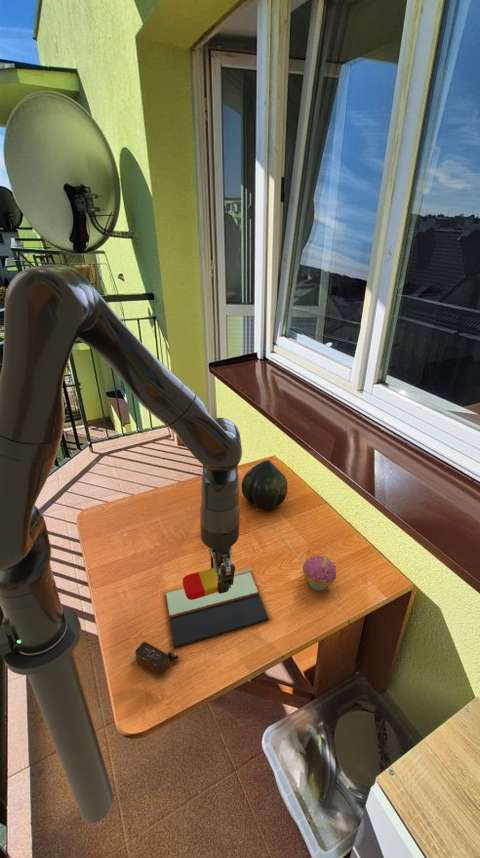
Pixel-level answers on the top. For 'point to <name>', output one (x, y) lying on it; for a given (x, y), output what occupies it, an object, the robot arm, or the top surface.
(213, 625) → the sorting mat
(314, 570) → the cupcake
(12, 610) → the robot arm
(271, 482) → the squash
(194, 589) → the popsicle
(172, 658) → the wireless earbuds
